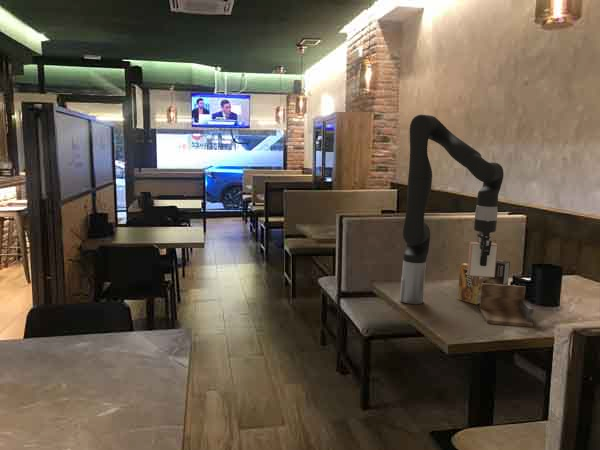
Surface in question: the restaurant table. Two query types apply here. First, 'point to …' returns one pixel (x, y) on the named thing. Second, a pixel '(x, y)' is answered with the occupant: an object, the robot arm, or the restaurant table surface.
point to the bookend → (505, 305)
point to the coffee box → (499, 273)
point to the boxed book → (474, 261)
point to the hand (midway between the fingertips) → (481, 264)
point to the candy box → (469, 286)
